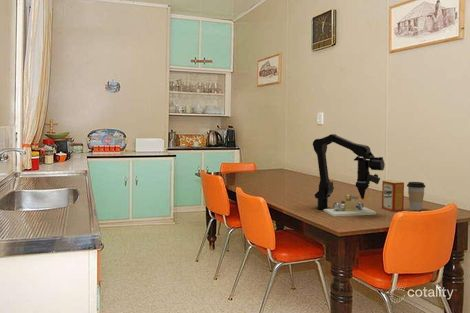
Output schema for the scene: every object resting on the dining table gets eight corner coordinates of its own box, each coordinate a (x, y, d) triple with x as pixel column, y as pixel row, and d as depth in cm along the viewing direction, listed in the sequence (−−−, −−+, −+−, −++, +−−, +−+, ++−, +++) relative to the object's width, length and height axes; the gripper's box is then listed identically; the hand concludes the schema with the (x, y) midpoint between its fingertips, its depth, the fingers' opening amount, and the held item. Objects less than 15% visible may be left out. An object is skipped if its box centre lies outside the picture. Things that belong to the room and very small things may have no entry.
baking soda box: (381, 208, 229) (382, 180, 228) (391, 207, 232) (392, 179, 230) (393, 211, 221) (394, 182, 219) (403, 210, 223) (404, 181, 221)
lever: (344, 198, 218) (344, 195, 218) (345, 197, 222) (346, 194, 221) (366, 200, 213) (366, 196, 213) (367, 199, 216) (367, 195, 216)
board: (323, 211, 223) (323, 209, 223) (364, 209, 227) (364, 207, 227) (333, 216, 210) (333, 214, 210) (376, 214, 214) (376, 212, 214)
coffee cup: (428, 211, 221) (429, 183, 220) (412, 211, 220) (413, 184, 218) (418, 207, 230) (418, 181, 229) (402, 208, 229) (403, 181, 228)
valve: (336, 211, 216) (336, 200, 215) (332, 209, 221) (332, 198, 221) (364, 210, 218) (364, 199, 218) (359, 208, 224) (360, 197, 223)
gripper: (379, 171, 202) (378, 202, 203) (379, 168, 219) (379, 197, 220) (355, 170, 206) (355, 201, 207) (358, 168, 223) (357, 196, 224)
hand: (362, 198), depth 214 cm, fingers closed
